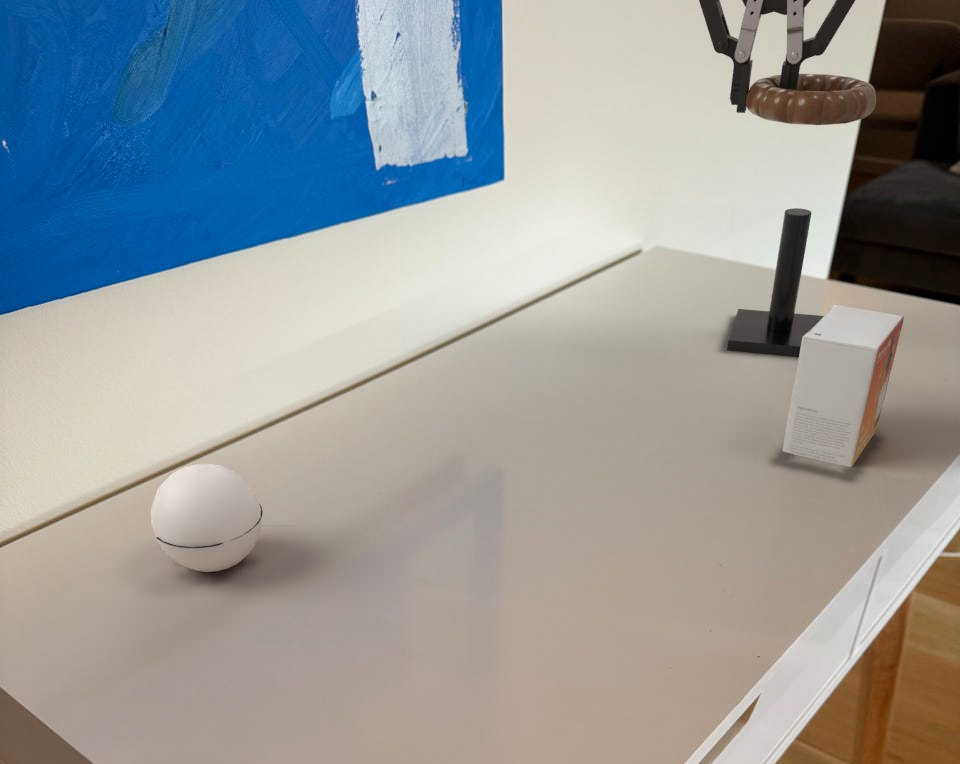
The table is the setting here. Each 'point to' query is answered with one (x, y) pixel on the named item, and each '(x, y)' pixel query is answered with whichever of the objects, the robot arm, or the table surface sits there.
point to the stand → (779, 299)
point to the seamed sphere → (206, 517)
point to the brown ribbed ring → (812, 100)
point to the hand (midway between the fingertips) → (761, 110)
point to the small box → (841, 384)
